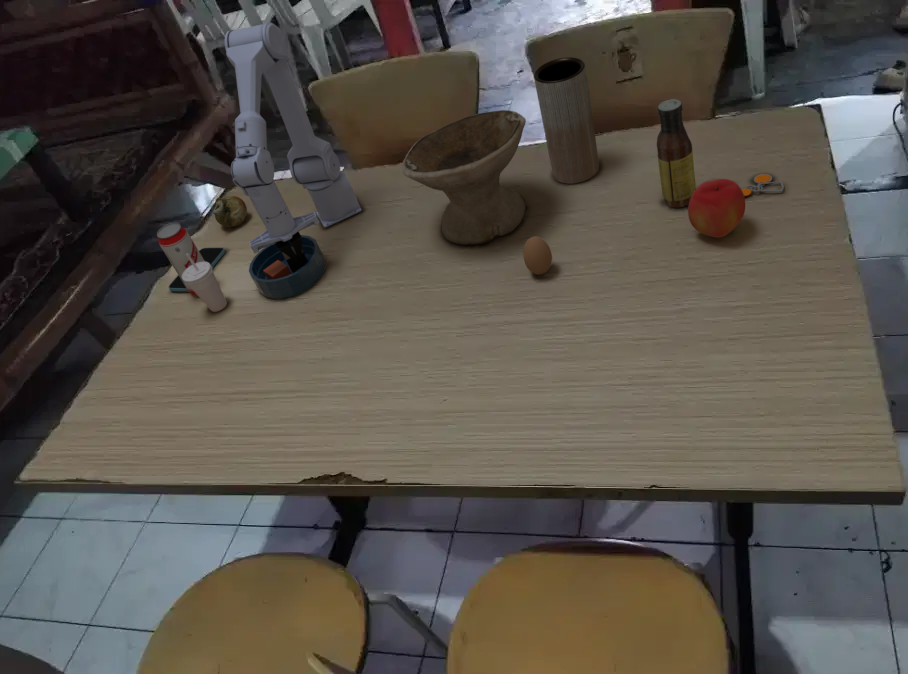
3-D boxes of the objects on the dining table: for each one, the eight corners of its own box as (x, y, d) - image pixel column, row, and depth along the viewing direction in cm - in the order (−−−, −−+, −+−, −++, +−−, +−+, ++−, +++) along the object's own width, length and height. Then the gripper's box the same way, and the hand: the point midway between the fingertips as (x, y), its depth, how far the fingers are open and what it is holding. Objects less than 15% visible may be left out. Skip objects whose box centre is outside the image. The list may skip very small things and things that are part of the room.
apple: (756, 234, 129) (757, 185, 122) (708, 255, 129) (707, 208, 122) (724, 209, 136) (724, 162, 129) (679, 229, 136) (676, 183, 129)
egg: (535, 284, 135) (527, 250, 130) (522, 271, 139) (514, 238, 133) (560, 272, 136) (552, 238, 130) (546, 259, 140) (538, 225, 134)
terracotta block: (285, 274, 158) (277, 259, 155) (295, 280, 155) (287, 265, 153) (271, 284, 156) (262, 270, 154) (280, 291, 154) (272, 276, 151)
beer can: (222, 279, 164) (188, 221, 152) (207, 298, 160) (172, 240, 149) (200, 278, 166) (165, 220, 155) (184, 296, 162) (148, 238, 151)
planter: (595, 153, 160) (580, 51, 145) (603, 177, 153) (588, 73, 138) (550, 165, 162) (530, 65, 146) (556, 189, 155) (536, 87, 139)
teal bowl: (316, 244, 164) (307, 225, 161) (335, 277, 153) (325, 259, 150) (253, 274, 162) (243, 256, 159) (267, 310, 151) (256, 292, 148)
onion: (255, 221, 178) (239, 194, 173) (224, 236, 177) (208, 209, 172) (248, 209, 184) (233, 181, 178) (219, 223, 182) (202, 196, 177)
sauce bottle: (701, 192, 142) (697, 95, 128) (689, 211, 139) (684, 114, 125) (668, 188, 145) (661, 94, 131) (656, 207, 142) (647, 112, 128)
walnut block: (305, 258, 160) (298, 243, 157) (310, 266, 157) (303, 251, 155) (289, 266, 160) (281, 251, 157) (293, 275, 157) (286, 260, 154)
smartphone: (225, 247, 172) (191, 288, 162) (227, 251, 172) (193, 292, 163) (201, 247, 174) (166, 288, 165) (203, 251, 175) (168, 292, 166)
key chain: (782, 173, 139) (782, 169, 138) (784, 196, 134) (784, 192, 134) (711, 179, 143) (711, 175, 143) (710, 201, 139) (710, 197, 138)
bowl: (518, 170, 164) (498, 85, 150) (563, 224, 146) (545, 133, 132) (412, 213, 163) (382, 132, 149) (444, 273, 145) (414, 187, 131)
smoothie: (225, 315, 154) (191, 263, 144) (199, 316, 156) (164, 265, 146) (237, 294, 158) (204, 243, 148) (212, 296, 160) (178, 245, 150)
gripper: (242, 235, 141) (273, 288, 151) (311, 203, 143) (337, 258, 153) (236, 219, 146) (266, 272, 156) (302, 189, 148) (328, 243, 158)
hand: (300, 264), depth 155 cm, fingers closed, pressing on walnut block
